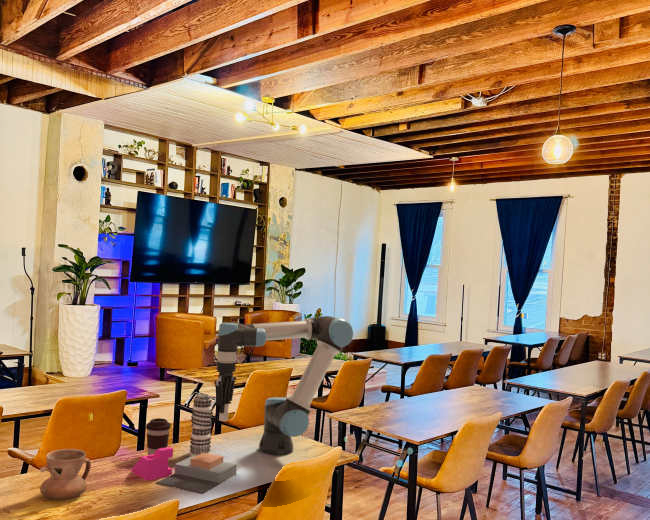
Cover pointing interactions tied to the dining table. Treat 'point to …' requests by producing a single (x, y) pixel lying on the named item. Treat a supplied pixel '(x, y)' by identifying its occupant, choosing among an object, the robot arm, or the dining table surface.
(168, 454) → the bracket
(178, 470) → the board
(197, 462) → the coaster
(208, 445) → the decorative candle
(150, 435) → the coffee cup
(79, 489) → the ceramic jug
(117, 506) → the dining table surface
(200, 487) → the mat
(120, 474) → the dining table surface
